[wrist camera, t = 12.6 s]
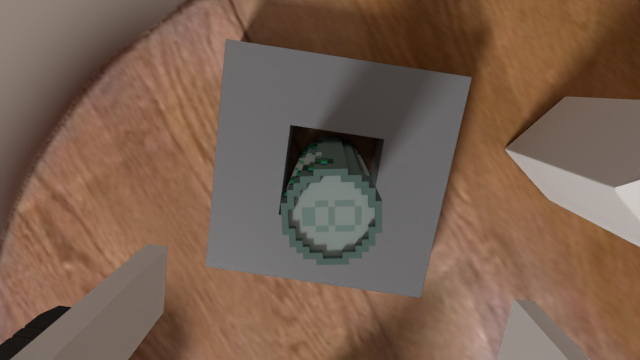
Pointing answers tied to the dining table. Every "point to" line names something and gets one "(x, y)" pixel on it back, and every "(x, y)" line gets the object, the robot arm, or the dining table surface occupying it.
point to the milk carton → (587, 160)
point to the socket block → (338, 116)
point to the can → (331, 203)
